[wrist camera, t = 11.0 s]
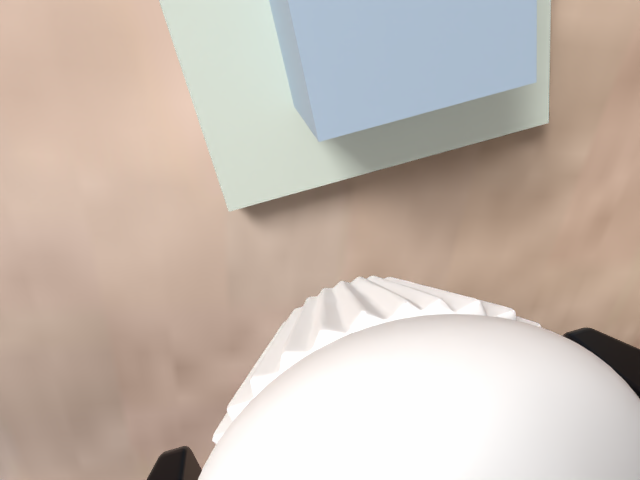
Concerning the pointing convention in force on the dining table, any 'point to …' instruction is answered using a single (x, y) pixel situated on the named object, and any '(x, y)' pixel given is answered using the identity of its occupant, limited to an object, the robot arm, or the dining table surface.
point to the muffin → (424, 396)
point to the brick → (400, 56)
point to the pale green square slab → (289, 127)
